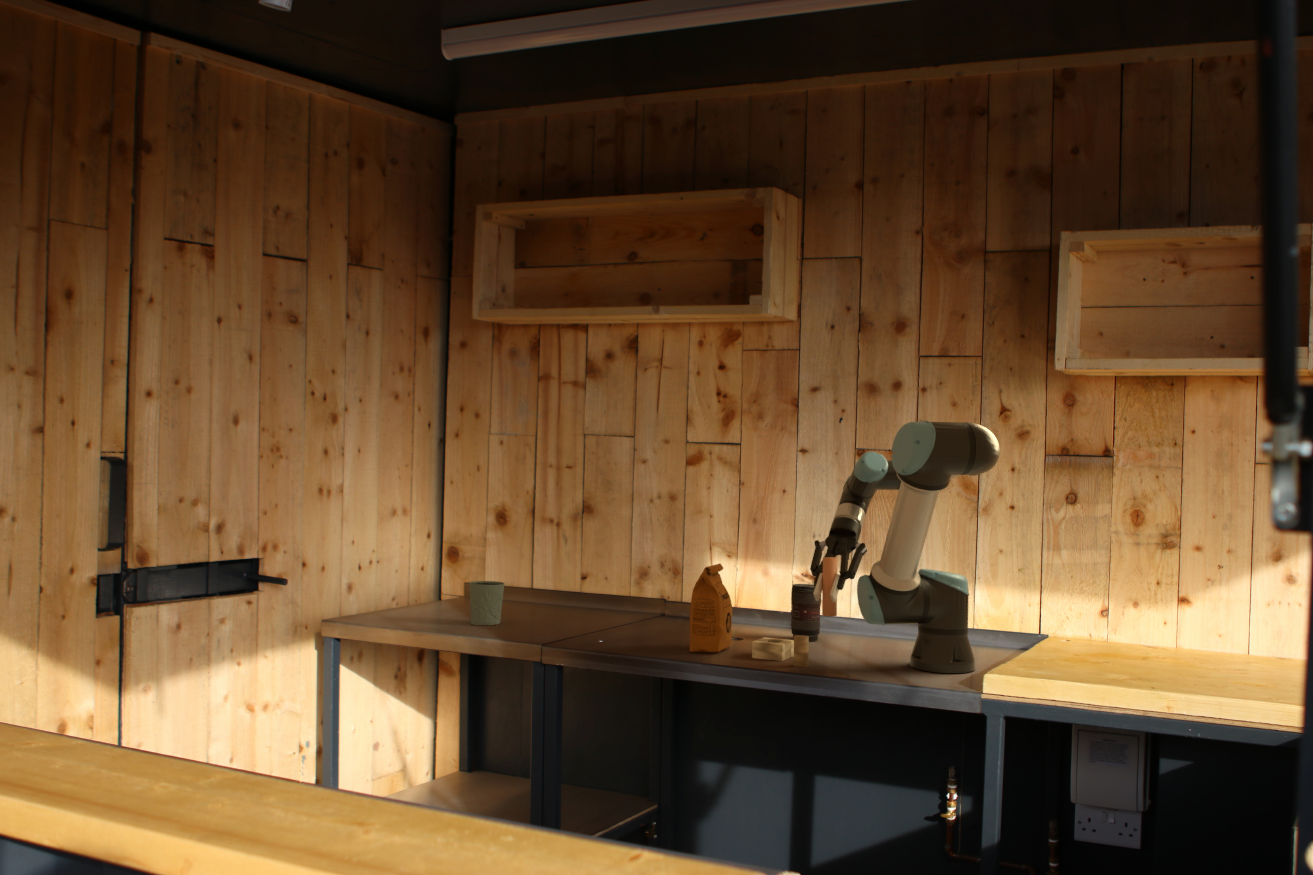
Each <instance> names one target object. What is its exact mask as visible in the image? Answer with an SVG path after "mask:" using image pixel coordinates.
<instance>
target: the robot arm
mask: <svg viewBox="0 0 1313 875" xmlns="http://www.w3.org/2000/svg"><path fill="white" fill-rule="evenodd" d="M891 452H892V454H891V460H890V459H887V458H885V456H884V455H883V454H881V453H877V451H866V452H864V453H862V454H861V455H860V457H859V458H858V459H857V461H856V463H855V465H854V466H853V470H852V472H851V474H850V475H849V476H848V477H847V478H846V481H845V483H844V485H843V487H842V493H841V495H840V499H839V502H838V504H837V508H836V511H835V513H834V516H833V520H832V523H831V526H830V528H829V532H828V535H827V537H826V538H825V539H824V540H822V541H820V540H819V539H818V540H814V552H813V556H812V560H811V564H810V567H809V570H810V572H811V575H812V577H814V580H813V585H814V586H815V590H814V593H813V594H814V597H815V600H816V601H819V599H820V596H821V597H822V591H823V559H822V558H823V557H834V558H837V556H840V566H839V571H838V572H839V573H837V574H836V576H835V580H834V583H833V586H832V589H831V592H830V597H831V600H832V602H835V601H836V598H837V599H838V594H839V591H843V589H844V586H845V583H846V581H847V580H849V579H850V580H855V577H856V575H857V572H858V570H859V566H860V564H861V563H862V559H863V556H864V555H866V553H867V552H868V550H867V546H866V543H865V542H861V543H859V540H860V536H861V533H862V529H863V525H864V523H865V518H866V516H867V512H868V509H869V506H870V503H871V501H872V499H873V498H874V496H875V494H876V493H877V491H878V490H879V491H880V490H882V491H883V490H884V491H885V490H886V491H898V492H897V496H896V499H895V503H894V507H893V511H892V514H891V519H890V522H889V526H888V529H887V534H886V538H885V541H884V545H883V548H882V549H883V550H882V553H881V557H880V560H878V561H876V562H874V564H872V566H871V569H870V573H869V575H868V574H864V575H861V576H859V577H858V580H857V585H856V595H857V602H858V608H859V610H860V613H861V617H862V618H863V620H864V621H865V622H866V623H867V624H870V625H876V626H877V625H879V626H880V625H881V626H886V625H917V636H916V640H915V641H914V644H913V646H912V647H913V648H912V651H911V653H910V659H909V662H910V663H909V665H910V667H911V668H914V669H916V670H919V671H924V672H930V673H938V674H939V673H940V674H942V673H943V674H962V673H963V674H964V673H971V672H973V671H975V669H976V659H975V656H974V653H973V648H972V646H971V643H970V640H969V630H968V628H969V596H970V593H969V581H968V578H967V577H966V576H964V575H963V574H958V573H956V572H955V573H953V572H949V571H942V570H936V569H928V568H919V569H918V567H919V563H920V560H921V557H922V554H923V549H924V547H925V543H926V539H927V537H928V532H929V530H930V525H931V522H932V518H933V514H934V511H935V508H936V504H937V500H938V497H939V493H940V492H942V491H944V490H945V489H947V488H948V486H949V484H950V480H951V479H955V478H957V477H960V476H970V477H973V476H978V475H981V474H984V473H985V474H986V473H987V472H988V471H990V470H991V469H993V468H994V467H995V465H996V464H997V463H998V461H999V458H1000V452H1001V450H1000V444H999V441H998V439H997V437H996V436H995V434H994V433H993V432H992V431H991V430H990V429H988V428H987V427H986V426H984V425H981V424H979V423H975V422H969V421H966V422H965V421H964V422H959V421H957V422H956V421H955V422H954V421H929V420H919V421H910V422H906V423H905V424H903V425H902V426H901V427H900V428H899V430H898V431H897V432H896V434H895V436H894V439H893V442H892V445H891ZM826 547H827V549H826V553H825V554H824V556H823V552H824V550H825V548H826ZM854 550H855V551H854ZM853 551H854V553H853V556H852V558H851V561H850V564H849V560H850V554H851V553H852V552H853ZM822 556H823V557H822Z"/></svg>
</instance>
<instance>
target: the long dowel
mask: <svg viewBox="0 0 1313 875" xmlns="http://www.w3.org/2000/svg"><path fill="white" fill-rule="evenodd" d="M822 560H823V590H822V593H821V605H822V607H821V609H822V610H821V611H822V612H821V614H822V616H824V617H837V616H838V612H837V609H838V608H837V607H838V603H837V602H838V597H837V598H836V601H835V602H832V600H831V597H830V592H831V589H832V586H833V583H834V580H835V576H836V574H838V557H835V558H834V557H824V556H823V557H822Z"/></svg>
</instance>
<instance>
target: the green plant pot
mask: <svg viewBox="0 0 1313 875" xmlns="http://www.w3.org/2000/svg"><path fill="white" fill-rule="evenodd" d="M468 587H469V588H468V589H469V605H470V606H469V607H470V609H469V610H470V614H469V615H470V616H469V617H470V625H471V624H473V625H472V626H474V625H494V624H499V623H500V624H501V620H502V619H501V618H502V607H503V600H504V592H505V582H502V581H493V580H476V581H470V582H469V585H468ZM500 624H499V625H500Z"/></svg>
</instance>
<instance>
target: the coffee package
mask: <svg viewBox="0 0 1313 875" xmlns="http://www.w3.org/2000/svg"><path fill="white" fill-rule="evenodd" d="M723 570H724V566H723V565H722V563H717V564H712V565H707V566H705V567H704V569H703V571H702V573H701V574H700V575H699V577H698V579H697V581H696V582H695V584H694V586H693V589H692V594H691V599H690V611H689V652H692V653H707V652H708V653H712V654H713V653H719V652H721V651H725V650H727V649H730V647H731V645H732V643H733V640H732V638H733V637H732V635H733V634H732V632H733V630H732V628H733V627H732V626H733V625H732V621H733V605H732V604H733V603H732V600H731V596H730V594H729V591H728V590H727V588H726V586H725V585H724V584H723V579H722V577H721V574H720V572H721V571H723ZM708 653H707V654H708Z"/></svg>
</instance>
